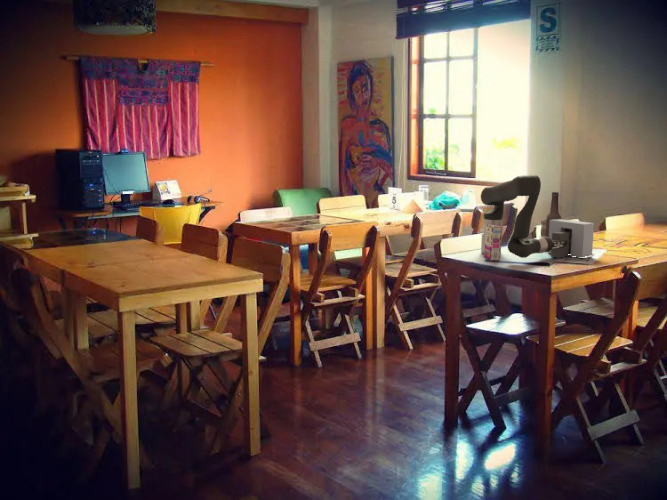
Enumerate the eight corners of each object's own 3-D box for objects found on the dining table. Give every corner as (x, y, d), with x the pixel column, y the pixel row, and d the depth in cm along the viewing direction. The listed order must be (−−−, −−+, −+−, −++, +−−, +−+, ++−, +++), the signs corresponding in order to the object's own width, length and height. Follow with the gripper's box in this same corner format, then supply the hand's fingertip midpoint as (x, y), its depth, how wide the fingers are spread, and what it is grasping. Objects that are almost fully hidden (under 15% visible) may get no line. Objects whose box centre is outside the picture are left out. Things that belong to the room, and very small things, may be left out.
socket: (582, 259, 377) (584, 224, 375) (547, 253, 393) (549, 220, 390) (591, 257, 382) (594, 223, 380) (557, 251, 398) (559, 218, 395)
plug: (558, 258, 378) (560, 233, 376) (550, 256, 382) (552, 232, 380) (569, 256, 384) (571, 232, 382) (561, 255, 387) (563, 231, 385)
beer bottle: (557, 251, 400) (560, 193, 395) (542, 249, 404) (545, 192, 399) (561, 249, 406) (564, 192, 401) (547, 248, 410) (550, 191, 405)
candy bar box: (500, 261, 370) (502, 226, 367) (490, 261, 369) (491, 226, 367) (493, 257, 381) (495, 223, 378) (483, 257, 380) (485, 223, 378)
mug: (538, 243, 426) (539, 221, 424) (541, 240, 436) (542, 219, 434) (568, 245, 421) (569, 223, 419) (570, 242, 430) (571, 220, 428)
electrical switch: (527, 252, 396) (526, 234, 395) (517, 252, 399) (517, 234, 398) (534, 250, 403) (534, 232, 402) (525, 250, 406) (524, 232, 405)
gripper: (553, 239, 365) (575, 236, 376) (528, 235, 376) (550, 232, 387) (552, 254, 366) (574, 251, 377) (528, 250, 377) (549, 247, 388)
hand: (561, 242), depth 382 cm, fingers closed on plug, 4 cm apart
